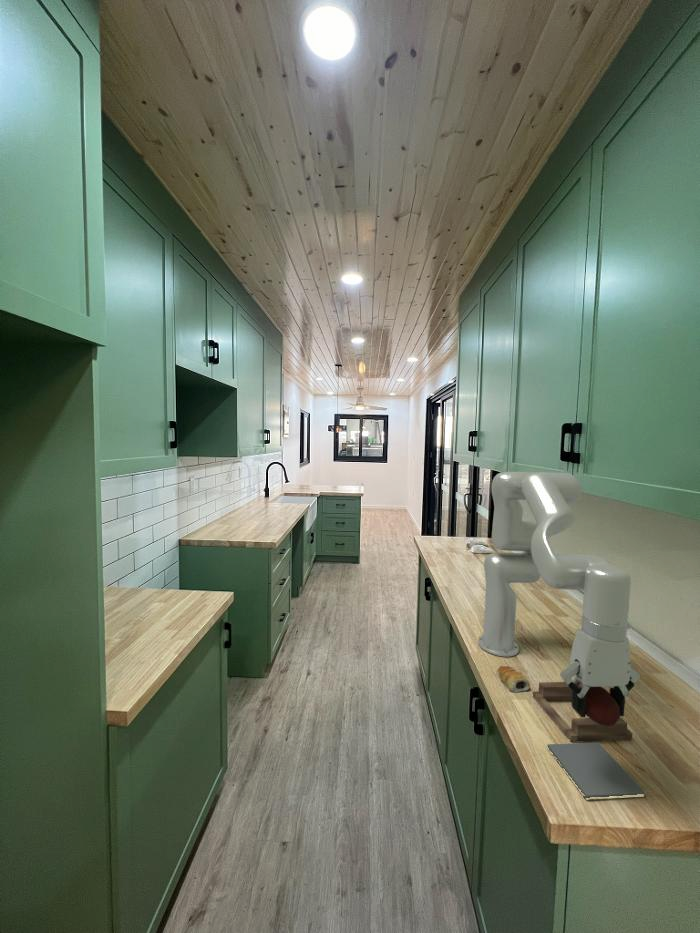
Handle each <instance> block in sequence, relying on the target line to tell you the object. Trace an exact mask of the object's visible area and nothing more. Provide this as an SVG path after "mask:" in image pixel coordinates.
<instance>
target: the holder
mask: <svg viewBox="0 0 700 933" xmlns="http://www.w3.org/2000/svg"><path fill="white" fill-rule="evenodd" d="M581 685H582V683H580V684H579V686H578V688H579V687H580V686H581ZM532 698H533V699H534V700H535V702H536V703H537V704H538V705H539V706H540V708H543V711H544V713H546V715H547V716H548V717H549V718H550V719H551V721H552V722H553V723H554V724H555V725H556V727H558V729H559V730H560V731H561V733H562V734H563V733H564V734H563V735H564V736H565V737H566V739H567V740H568V739H569V740H570V741H569V740H568V741H569V743H578V742H577V741H585V742H603V741H602V740H610V741H630V740H631V739H632V740H633V735H634V734H633V732H632V731H631V730H630V729H629V728H628V722H627V721H626V720H625V719H624V718H622V716H620V718H619V720H618V721H617V722H616V723H615V725H612V726H604V725H600V724H598V723H596V722H594V721H593V720H591V719H590V718H589V717H580V718H579V717H576V718H575V717H574V718H571V727H570V726H569V724H568V723H567V722H566V721H565V720H564V718H562V716H561V715H560V714H559V713H558V712H557V711H556V710H555V709H554V707H553V706H552V705H551V704H550V703H555V702H557V703H558V702H572V690H571V689H570V688H569V687H568V686H567V685H566V683H565V682H564V681H554V682H553V681H550V682H549V681H545V682H544V681H543V682H542V681H541V682H540V681H539V682H538V691H533V692H532ZM549 702H550V703H549ZM599 740H601V741H599ZM574 741H575V742H574Z"/></svg>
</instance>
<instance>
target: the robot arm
mask: <svg viewBox="0 0 700 933" xmlns="http://www.w3.org/2000/svg"><path fill="white" fill-rule="evenodd" d="M582 491H583V490H582V486H581V483H580V481H579V480H578V478H577V477H575V475H573V474H571V473H569V472H549V471H539V472H538V471H537V472H536V471H535V472H531V471H529V472H528V471H503V472H499V473H496V475H495V476H494V477H493V479H492V481H491V496H492V500H493V506H494V508H493V509H494V510H493V516H492V517H493V519H492V530H491V543H492V545H493V547H494V548H495V549H498V550H501V551H505V552H500V551H499V552H492V553H489V554H488V555H487V556H486V557H485V559H484V561H483V569H484V577H485V594H484V595H485V596H484V597H485V598H484V599H485V600H484V613H483V614H484V615H483V616H484V617H483V624H482V628H483V633H482V635H480V636H479V637H478V638H477V639H478V640H477V643H478V646H479V647H480V648H481V649H482V650H484V651H485V652H487V653H489V654H491V655H494V656H498V657H503V658H504V657H505V658H507V657H508V658H509V657H510V658H511V657H514V656H517V654H519V652H520V647H519V645H518V643H517V642H516V641H515V630H516V615H517V614H516V612H517V595H516V593H515V591H514V590H513V588H512V587H511V584H533V583H537V582H538V581H539V580H540V579H542V580H543V581H542V582H544V583H545V585H546V586H548V587H550V588H552V589H556V590H567V591H568V590H570V591H571V590H572V591H573V590H575V591H583V600H582V601H583V602H582V614H581V615H582V616H581V626H580V628H577V631H576V633H575V635H574V637H573V643H572V645H571V653H570V657H569V658H570V659H569V665H568V666H567V667H566V668H565V669H564V670H562V671H561V672H560V673H559V676H560V677H561V679H562V681H563V682H565V683H566V685H567V686H568V687H569V688H570V689H571V690H572V701H571V708H572V709H573V710H574V711H575V712H576V713H577V714H578V715H579V716H580V718H586V716H587V715H586V704H587V699H586V698H585V697H584V696H585V694H586V693H587V691H588V689H589V688H590V687H602V688H605V687H610V688H609V693H610V695H611V696H612V697H613V698H614V699H615V700H616V702H617V704H618V705H619V709H620V717H624V716H625V704H626V698H628V697H629V695H630V691H631V690H632V689H633V688H634V687H635V683H636V682H637V681H638V680H639V679H640V677H641V675H640V673H639V672H637V671H636V670H635V669H634V668H632V667H631V666H632V664H631V662H632V658H631V648H630V641H629V638H628V637H627V634H628V633H627V632H628V630H629V629H630V628H631V624H630V622H628V621H629V608H630V598H631V597H630V596H631V584H632V583H631V582H632V581H631V576H630V575H629V573H628V572H627V571H625V570H624V569H621V568H620V567H617V566H613V565H612V564H611V563H610V562H608V560H606V559H605V558H603V557H601V556H599V555H596V554H595V555H594V554H571V553H570V554H569V553H568V554H567V553H555V551H554V549H553V547H552V545H551V544H550V541H549V538H551V537H553V536H555V535H557V534H560V533H562V532H564V531H566V530H568V528H570V527H571V526H572V525H573V524H574V522H575V514H574V512H573V510H572V509H571V506H570V505H572V504H575V503H577V502H578V501H579V500H580V498H581V496H582ZM520 501H526V502H527V505H528V507H529V509H530V511H531V513H532V516H533V517H534V520H535V521H536V522H535V521H530V520H529V521H528V520H527V521H525V520H524V521H523V516H524V515H523V514H524V509H523V506H522V503H521V502H520ZM506 551H508V552H506ZM509 551H510V552H509ZM511 551H514V552H511ZM574 676H575V677H574ZM580 683H582V686H581V687H580V689H579V688H578V686H579V684H580Z"/></svg>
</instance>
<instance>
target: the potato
mask: <svg viewBox="0 0 700 933" xmlns="http://www.w3.org/2000/svg"><path fill="white" fill-rule="evenodd" d="M581 686H582V685H581ZM581 686H580V687H581ZM580 687H579V689H580ZM584 697H585V698H586V699H587V704H586V716H587V718H590V719H591V720H593V721H594V722H596V723H598V724H600V725H604V726H612V725H615V723H616V722H617V721H618V720H619V718H620V717H621V716H620V709H619V705H618V704H617V702H616V700H615V699H614V698H613V697H612V696H611V695H610V691H608V690H607V689H605V687H590V688H589V689H588V691H587V693H586V694H585V696H584Z"/></svg>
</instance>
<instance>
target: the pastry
mask: <svg viewBox="0 0 700 933" xmlns="http://www.w3.org/2000/svg"><path fill="white" fill-rule="evenodd" d="M497 672H498V675H499V678H500V681H501V682H502V683H504V684H503V685H504V686H505V687H507V688H508V689H509V690H508V689H507V688H506V689H507V690H508V691H510V692H511V691H512V693H519V692H522V691H523V692H525V691H528V690H529V689H530V688H531V684H530V682H529V681H530V680H528V679H527V678H526V676H525V675H524V674H523V673H522V672H520V671H517V670H516V669H515V668H513V667H510V666H507V665H506V666H505V665H502V666H499V667H498V668H497Z"/></svg>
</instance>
